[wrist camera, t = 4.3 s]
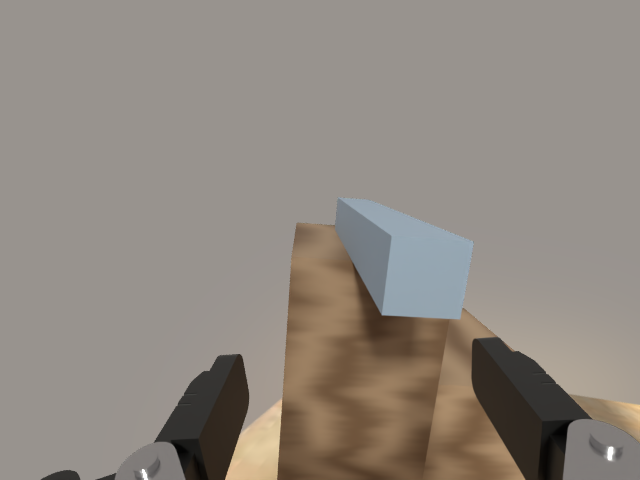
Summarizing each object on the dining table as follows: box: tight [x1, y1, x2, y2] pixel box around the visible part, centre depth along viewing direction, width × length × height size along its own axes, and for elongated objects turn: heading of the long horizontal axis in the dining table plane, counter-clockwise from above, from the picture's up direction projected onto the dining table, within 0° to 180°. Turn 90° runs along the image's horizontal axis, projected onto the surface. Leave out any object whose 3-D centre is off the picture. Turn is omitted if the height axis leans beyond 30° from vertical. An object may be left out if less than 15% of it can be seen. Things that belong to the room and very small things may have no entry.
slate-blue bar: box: [335, 198, 474, 319], centre depth 25 cm, size 4×22×4 cm, turn 3°
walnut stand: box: [277, 223, 525, 480], centre depth 34 cm, size 22×16×32 cm
